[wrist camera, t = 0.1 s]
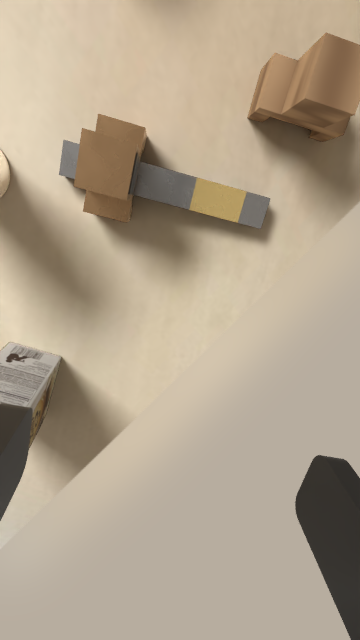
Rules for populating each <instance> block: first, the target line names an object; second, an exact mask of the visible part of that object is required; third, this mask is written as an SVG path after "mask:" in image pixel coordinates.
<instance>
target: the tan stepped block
mask: <svg viewBox="0 0 360 640" xmlns="http://www.w3.org/2000/svg"><path fill="white" fill-rule="evenodd" d="M359 101H360V45H358V44H356V43H353V42H350V41H348V40H345V39H342V38H339V37H337V36H334V35H331V34H328V33H325V34H324V35H323V36H322V37H321V38H320V39H319V40H318V41H317V42H316V43H315V44H314V45H313V46H312V47H311V48H310V49H309V50H308V51H307V52H306V53H305V54H304V55H303V56H302V57H301V58H300V59H299V60H298V61H297V60H294V59H291V58H289V57H286V56H283V55H280V54H277V53H274V55H273V56H272V57H271V58H270V60H269V61H268V62H267V63H266V65H265V66H264V67H263V68H262V70H261V72H260V75H259V79H258V82H257V86H256V89H255V93H254V97H253V100H252V104H251V107H250V111H249V114H248V118H249V119H252V120H256V121H259V122H264V121H265V120H266V119H268V118H269V117H273V118H276V119H279V120H282V121H285V122H288V123H291V124H295V125H298V126H301V127H304V128H307V129H310V130H312V131H311V134H310V137H309V138H312V139H316V140H319V141H322V142H324V141H327V140H330V139H333V138H336V137H338V136H341V135H344V133H345V130H346V127H347V124H348V122H349V119H350V116H353V115H355V112H356V109H357V107H358V104H359Z"/></svg>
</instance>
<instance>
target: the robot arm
mask: <svg viewBox="0 0 360 640" xmlns="http://www.w3.org/2000/svg"><path fill="white" fill-rule="evenodd" d="M32 416H33V409H32V408H30V407H24V406H18V405H12V404H6V403H1V404H0V521H1V519H2V517H3V515H4V513H5V511H6V508H7V506H8V504H9V502H10V500H11V498H12V496H13V494H14V492H15V490H16V488H17V486H18V484H19V482H20V479H21V477H22V474H23V471H24V468H25V465H26V461H27V456H28V449H29V441H30V432H31V424H32ZM296 514H297V518H298V520H299V522H300V525H301V527H302V529H303V532H304V534H305V536H306V538H307V541H308V543H309V545H310V548H311V550H312V552H313V554H314V557H315V559H316V561H317V563H318V566H319V568H320V570H321V572H322V574H323V577H324V579H325V582H326V584H327V586H328V588H329V591H330V593H331V595H332V597H333V600H334V602H335V604H336V606H337V609H338V611H339V613H340V616H341V618H342V620H343V622H344V625H345V627H346V629H347V631H348V633H349V636H350V638H351V640H360V478H359V477H358V475H357V474H356V472H355V471H354V470H353V468H352V467H351V466H350V464H349V463H348V462H347V461H346V460H344V459H339V458H333V457H327V456H321V455H318V456H316V457H315V458H314V459H313V461H312V463H311V465H310V467H309V469H308V472H307V474H306V476H305V478H304V480H303V482H302V485H301V487H300V489H299V491H298V493H297V496H296Z"/></svg>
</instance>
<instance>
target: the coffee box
mask: <svg viewBox="0 0 360 640" xmlns="http://www.w3.org/2000/svg"><path fill="white" fill-rule="evenodd" d="M60 361H61V356H58V355H54V354H51V353H47V352H44V351H40V350H37V349H33V348H30V347H26V346H23V345H20V344H16V343H13V342H9V343H8V344H7V345H6V346H5V347H4V348H3V349H2V350H1V351H0V404H1V403H6V404H12V405H18V406H24V407H30V408H32V409H33V416H32V424H31V432H30V441H29V448H30V446H31V444H32V442H33V440H34V438H35V436H36V434H37V432H38V430H39V428H40V426H41V424H42V422H43V420H44V418H45V416H46V412H47V409H48V405H49V401H50V398H51V394H52V390H53V387H54V383H55V379H56V376H57V372H58V369H59V365H60ZM28 450H29V449H28Z"/></svg>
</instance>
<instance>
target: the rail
mask: <svg viewBox="0 0 360 640" xmlns="http://www.w3.org/2000/svg"><path fill="white" fill-rule="evenodd" d="M146 137H147V135H146V128H145V127H141V126H138V125H135V124H131V123H128V122H124V121H121V120H118V119H114V118H111V117H108V116H104V115H101V114H98V119H97V125H96V132H94V131H90V130H87V129H83V128H82V132H81V139H80V144H77V143H73V142H70V141H66V140H64V141H63V149H62V156H61V164H60V172H59V175H61V176H65V177H69V178H73V179H75V181H74V187H77V188H81V189H85V190H86V196H85V202H84V209H83V212H87V213H91V214H95V215H99V216H103V217H107V218H111V219H115V220H118V221H122V222H126V223H127V222H128V221H129V220H130V217H131V212H132V207H133V205H131V204H132V199H133V195H136V196H140V197H143V198H147V199H151V200H155V201H158V202H162V203H166V204H169V205H173V206H177V207H181V208H184V209H188V210H192V211H195V212H199V213H203V214H207V215H210V216H214V217H218V218H222V219H225V220H229V221H233V222H236V223H240V224H244V225H248V226H251V227H255V228H259V229H261V226H262V223H263V220H264V217H265V214H266V211H267V208H268V205H269V202H270V198H267V197H264V196H260V195H257V194H253V193H250V192H246V191H243V190H239V189H236V188H232V187H229V186H225V185H222V184H218V183H215V182H211V181H208V180H204V179H201V178H197V177H193V176H190V175H186V174H183V173H179V172H176V171H172V170H168V169H165V168H161V167H158V166H154V165H151V164H147V163H144V162H140V159H141V154H142V152H144V147H145V142H146Z"/></svg>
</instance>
